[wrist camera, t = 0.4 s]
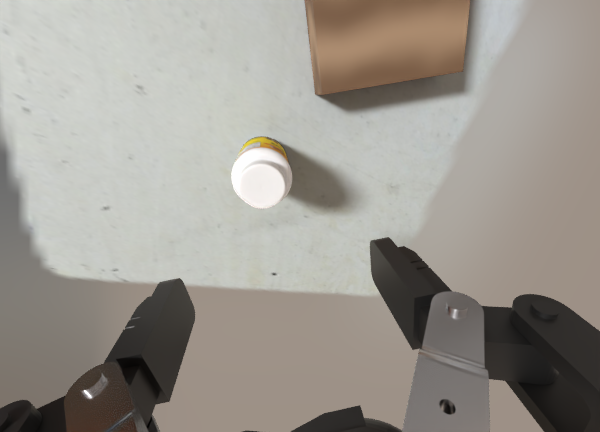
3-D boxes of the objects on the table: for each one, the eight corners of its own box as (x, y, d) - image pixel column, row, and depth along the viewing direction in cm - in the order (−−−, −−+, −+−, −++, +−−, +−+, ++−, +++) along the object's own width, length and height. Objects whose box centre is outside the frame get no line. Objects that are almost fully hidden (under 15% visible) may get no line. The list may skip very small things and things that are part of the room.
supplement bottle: (294, 170, 33) (305, 202, 23) (252, 189, 33) (247, 227, 24) (274, 126, 30) (278, 142, 21) (229, 147, 30) (214, 171, 21)
